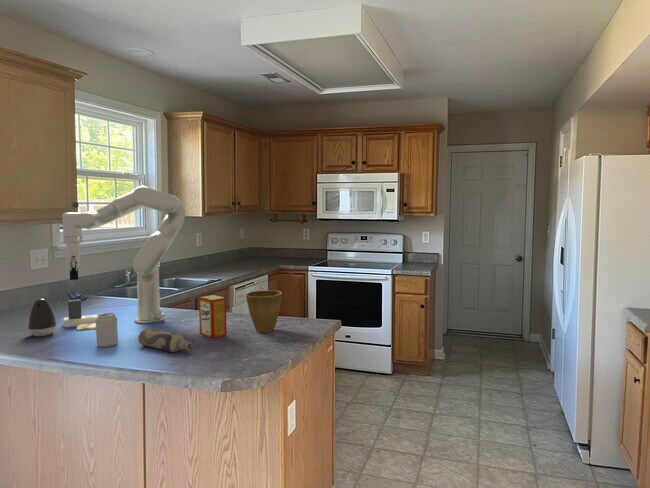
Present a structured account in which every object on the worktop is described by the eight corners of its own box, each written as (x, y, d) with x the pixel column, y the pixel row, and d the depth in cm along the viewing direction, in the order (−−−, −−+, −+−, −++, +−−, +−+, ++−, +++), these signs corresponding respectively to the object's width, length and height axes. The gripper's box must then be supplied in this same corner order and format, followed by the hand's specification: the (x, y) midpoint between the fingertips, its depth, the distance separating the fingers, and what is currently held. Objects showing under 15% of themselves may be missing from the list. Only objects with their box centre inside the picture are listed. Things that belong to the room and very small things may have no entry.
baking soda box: (200, 334, 203) (198, 296, 201) (213, 331, 207) (212, 294, 206) (212, 339, 196) (211, 299, 195) (226, 336, 200) (225, 297, 199)
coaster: (96, 324, 221) (96, 323, 221) (97, 328, 214) (97, 326, 214) (76, 326, 218) (76, 325, 218) (77, 330, 211) (77, 329, 211)
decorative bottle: (136, 347, 185) (136, 330, 185) (153, 343, 192) (153, 326, 191) (185, 358, 172) (184, 339, 171) (201, 353, 178) (200, 334, 178)
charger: (81, 316, 225) (80, 298, 224) (81, 318, 221) (80, 300, 220) (68, 317, 222) (68, 299, 222) (68, 319, 219) (68, 301, 218)
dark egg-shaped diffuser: (24, 339, 198) (22, 301, 197) (32, 332, 208) (30, 297, 207) (52, 337, 201) (50, 300, 200) (59, 330, 211) (57, 295, 210)
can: (112, 341, 194) (110, 311, 193) (121, 344, 189) (120, 313, 188) (93, 345, 188) (91, 314, 187) (102, 349, 183) (101, 317, 182)
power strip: (107, 319, 231) (107, 309, 230) (108, 322, 225) (108, 312, 225) (64, 324, 223) (63, 313, 222) (64, 327, 217) (63, 316, 217)
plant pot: (267, 324, 219) (267, 288, 218) (289, 330, 208) (288, 292, 207) (239, 330, 209) (238, 293, 207) (260, 337, 198) (260, 297, 197)
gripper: (63, 239, 226) (65, 276, 227) (62, 241, 210) (64, 281, 212) (82, 238, 229) (83, 275, 230) (82, 241, 214) (83, 280, 215)
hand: (74, 278), depth 221 cm, fingers open, 9 cm apart
